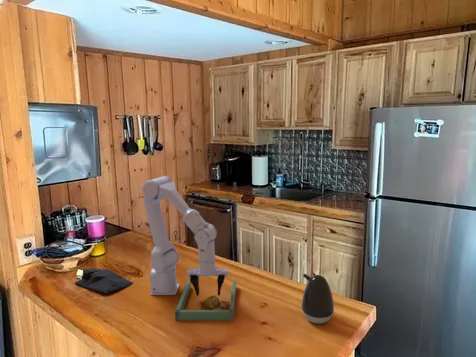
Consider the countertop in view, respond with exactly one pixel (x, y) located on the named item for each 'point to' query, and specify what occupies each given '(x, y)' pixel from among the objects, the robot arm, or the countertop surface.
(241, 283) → the countertop surface
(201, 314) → the green u-shaped bracket
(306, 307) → the pump dispenser
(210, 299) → the fruit
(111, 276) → the black fabric pouch
